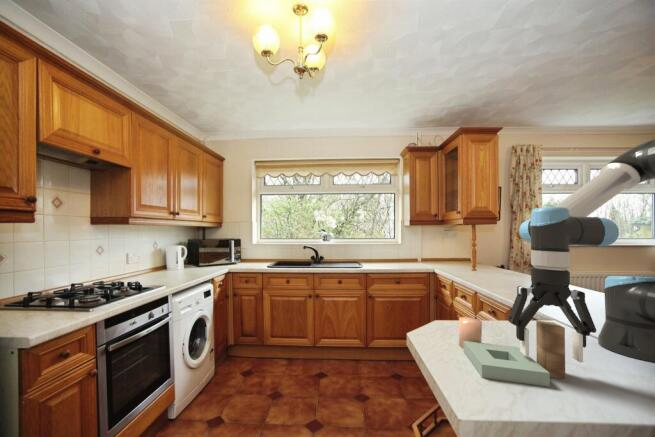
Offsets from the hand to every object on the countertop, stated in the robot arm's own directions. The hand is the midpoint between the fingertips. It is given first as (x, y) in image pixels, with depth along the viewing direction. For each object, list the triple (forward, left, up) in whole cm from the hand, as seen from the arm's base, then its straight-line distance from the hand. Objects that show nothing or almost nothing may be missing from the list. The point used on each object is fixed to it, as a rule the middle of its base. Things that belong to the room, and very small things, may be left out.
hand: (550, 356), depth 65 cm
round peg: (+15, -11, -4) cm, 19 cm away
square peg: (0, 0, -4) cm, 4 cm away
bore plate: (+11, 0, -4) cm, 12 cm away
